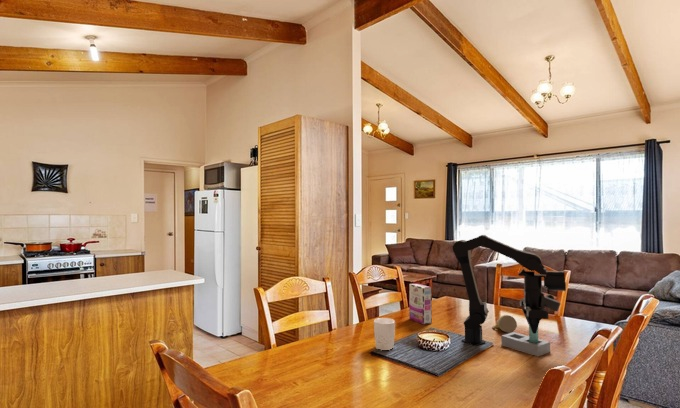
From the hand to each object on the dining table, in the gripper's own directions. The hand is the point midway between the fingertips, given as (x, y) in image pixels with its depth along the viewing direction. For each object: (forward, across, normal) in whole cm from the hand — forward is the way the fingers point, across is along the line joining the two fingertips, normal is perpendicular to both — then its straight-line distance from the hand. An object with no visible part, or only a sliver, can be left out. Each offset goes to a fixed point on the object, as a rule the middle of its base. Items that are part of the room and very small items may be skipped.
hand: (533, 331), depth 139 cm
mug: (+7, +23, +7) cm, 25 cm away
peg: (+4, 0, 0) cm, 4 cm away
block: (+7, +2, +2) cm, 8 cm away
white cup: (+7, -11, +52) cm, 54 cm away
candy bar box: (+7, +28, +42) cm, 51 cm away
